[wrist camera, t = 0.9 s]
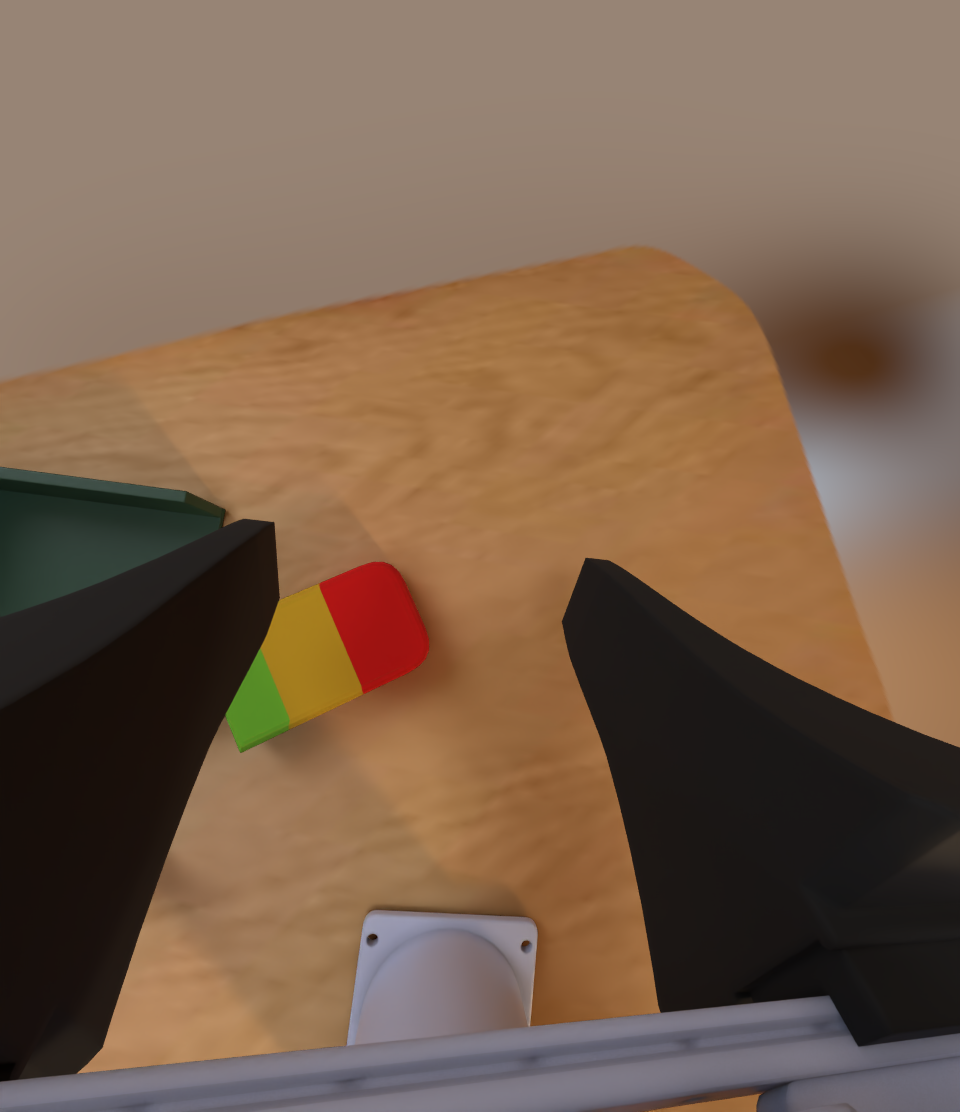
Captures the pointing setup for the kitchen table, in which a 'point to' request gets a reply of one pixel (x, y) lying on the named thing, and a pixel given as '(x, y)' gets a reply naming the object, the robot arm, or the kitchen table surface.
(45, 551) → the dustpan
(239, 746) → the popsicle
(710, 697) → the robot arm
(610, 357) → the kitchen table surface
